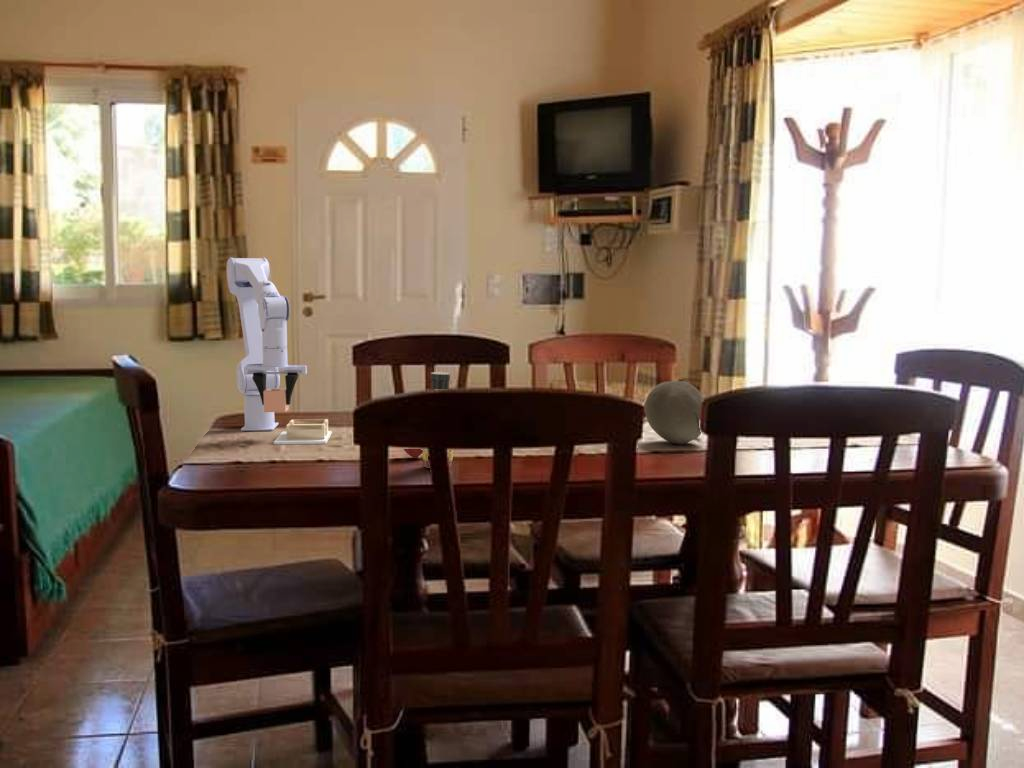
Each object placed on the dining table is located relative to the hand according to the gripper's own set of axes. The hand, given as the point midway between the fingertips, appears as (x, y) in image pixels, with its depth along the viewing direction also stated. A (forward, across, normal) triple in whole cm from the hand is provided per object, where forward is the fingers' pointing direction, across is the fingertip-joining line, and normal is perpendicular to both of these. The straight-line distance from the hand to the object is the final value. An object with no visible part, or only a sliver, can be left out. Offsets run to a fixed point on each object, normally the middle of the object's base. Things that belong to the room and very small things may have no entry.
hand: (276, 404), depth 229 cm
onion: (+9, +34, -24) cm, 42 cm away
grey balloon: (+9, +94, -11) cm, 95 cm away
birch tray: (+8, +7, 0) cm, 11 cm away
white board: (+8, +6, 0) cm, 10 cm away
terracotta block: (+2, 0, 0) cm, 2 cm away
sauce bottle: (+9, +39, -34) cm, 53 cm away
